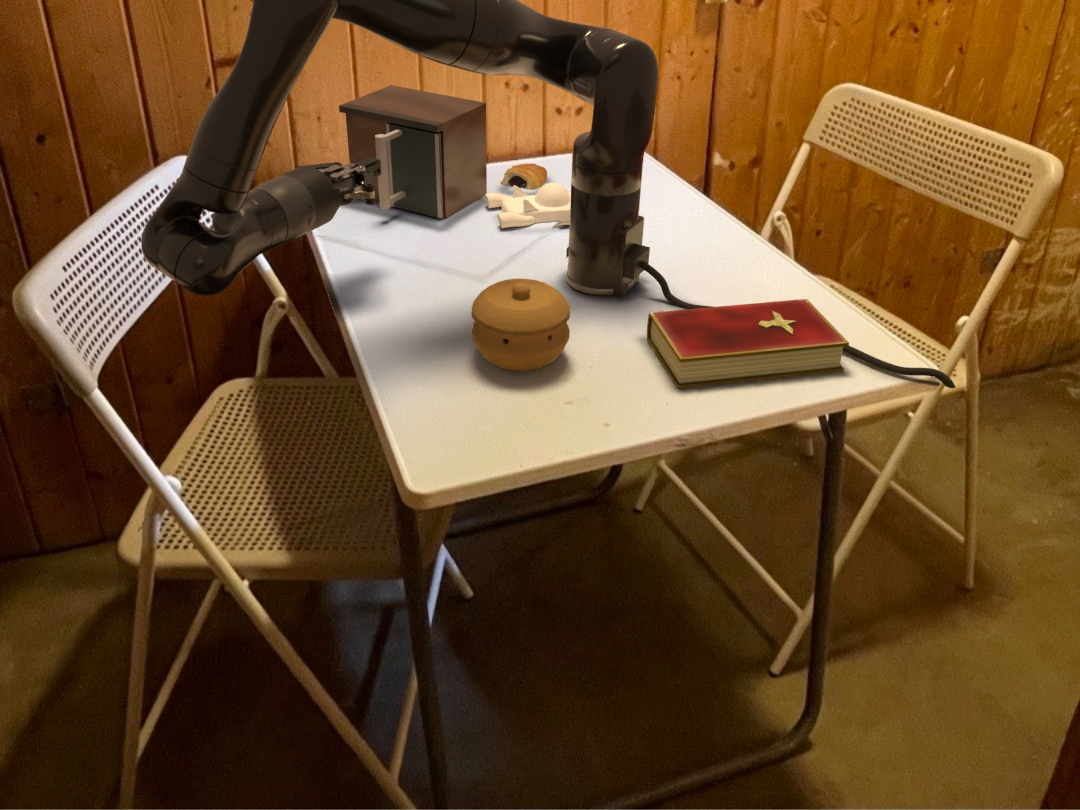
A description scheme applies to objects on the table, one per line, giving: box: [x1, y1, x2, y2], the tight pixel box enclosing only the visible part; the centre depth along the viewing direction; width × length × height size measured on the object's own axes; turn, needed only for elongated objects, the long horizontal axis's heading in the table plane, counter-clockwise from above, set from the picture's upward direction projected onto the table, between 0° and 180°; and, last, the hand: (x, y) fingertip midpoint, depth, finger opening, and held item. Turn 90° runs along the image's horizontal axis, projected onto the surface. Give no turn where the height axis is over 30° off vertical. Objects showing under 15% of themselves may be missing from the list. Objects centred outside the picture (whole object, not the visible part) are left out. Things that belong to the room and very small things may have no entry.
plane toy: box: [484, 182, 571, 229], centre depth 157 cm, size 10×20×6 cm, turn 106°
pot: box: [470, 278, 571, 372], centre depth 120 cm, size 12×12×10 cm
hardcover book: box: [646, 298, 850, 390], centre depth 123 cm, size 12×21×4 cm, turn 103°
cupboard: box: [338, 84, 488, 220], centre depth 159 cm, size 13×18×16 cm
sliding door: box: [375, 123, 444, 219], centre depth 151 cm, size 6×9×13 cm, turn 61°
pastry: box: [500, 163, 548, 191], centre depth 170 cm, size 9×7×4 cm
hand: (376, 165), depth 136 cm, fingers closed
